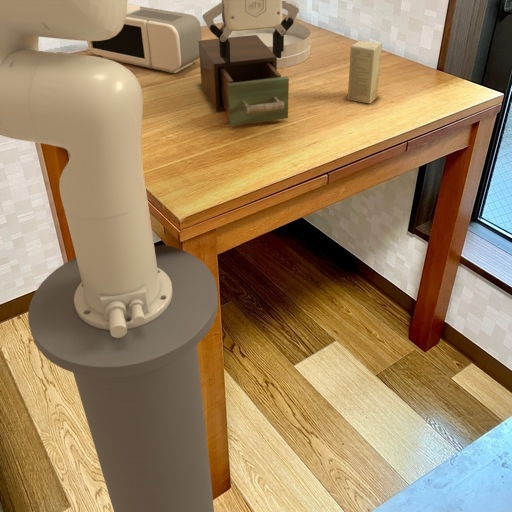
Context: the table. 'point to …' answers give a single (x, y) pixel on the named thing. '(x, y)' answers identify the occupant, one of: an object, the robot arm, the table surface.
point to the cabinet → (240, 54)
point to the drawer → (253, 93)
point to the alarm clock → (153, 40)
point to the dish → (294, 43)
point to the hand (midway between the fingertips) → (251, 58)
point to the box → (364, 71)
